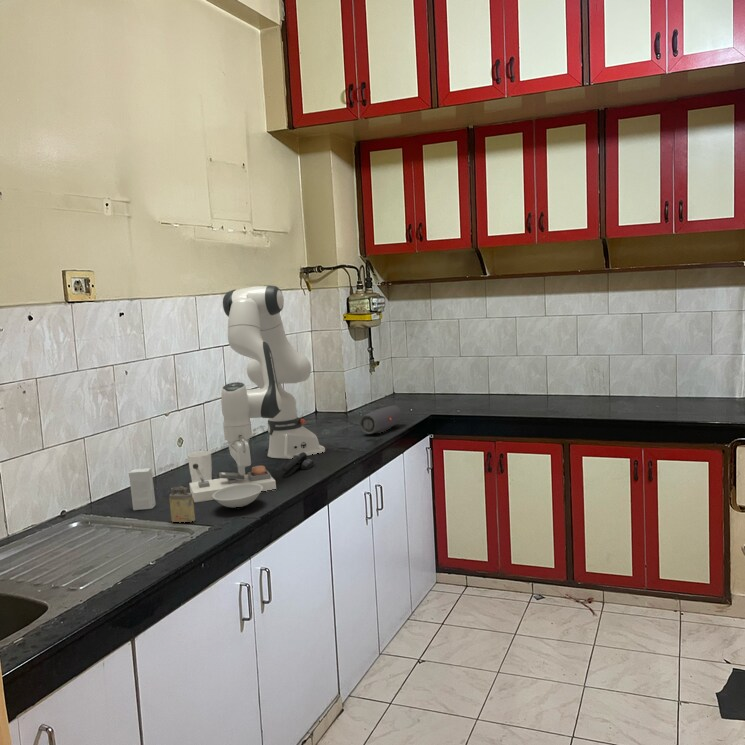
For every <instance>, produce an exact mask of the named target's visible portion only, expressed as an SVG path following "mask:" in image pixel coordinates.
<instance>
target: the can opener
mask: <svg viewBox="0 0 745 745" xmlns="http://www.w3.org/2000/svg"><path fill="white" fill-rule="evenodd" d="M307 457H308V456H307V455H306V453H304V452H302V453H300V454H299V455H295V456H293V459H289V461H288V462H287V463H285V465H284V466H283V467H282V468H281V470H282V471H283V473H282V474H281V476H282V478H287V477H286V476H288V477H290V476H291V475H292V474H293V473H295V472H297V470H298V469H301V470H309V469H311V468H312V467H311V466H313V465H314V460H312V459H310V458H307ZM310 467H311V468H310ZM308 468H309V469H308ZM289 475H290V476H289Z"/></svg>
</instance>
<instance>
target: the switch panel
mask: <svg viewBox="0 0 745 745" xmlns="http://www.w3.org/2000/svg"><path fill="white" fill-rule="evenodd" d="M265 471H266V474H263V475H256V476H253V475H252V471H249V472H247V474H245V475H244V476H245V477H244V479H227V478H220V477H219V478H214V479H212V480H206V481H204V482H202V481H199V482H192V481H191V482H189V491H190V492H189V493H192V497H193V503H201V502H207V501H213V500H215V499H213V498H212V495H213V494H214V493H215V492H216V491H218V490H220V489H222V488H225V487H229V486H233V485H238V484H249V483H250V484H259V485H262V486H263V490H262V491H266V492H268V491H267V490H272V489H276V490H277V484H276V483H277V482H276V479H275V478H274V477H273V476H272V475H271V473H270V472H269V470H268V469H265ZM272 491H273V490H272Z"/></svg>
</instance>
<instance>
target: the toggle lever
mask: <svg viewBox="0 0 745 745" xmlns="http://www.w3.org/2000/svg"><path fill="white" fill-rule="evenodd" d="M193 468H194V469H195V470H196V472H197V474H198V476H199V478H200V480H201V481H202V482H204V478H203V476H202V474H201V472H200V470H199V468H198V464H193Z"/></svg>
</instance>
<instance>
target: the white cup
mask: <svg viewBox="0 0 745 745" xmlns="http://www.w3.org/2000/svg"><path fill="white" fill-rule="evenodd" d="M187 460H188V468H189V474H190V477H191V483H192V482H199V481H201V480H200V478H199V476H198V474H197V472H196V470H195V469H194V468H193V464H198V468H199V470H200V472H201V474H202V476H203V478H204V481H206V480H213V479H212V478H213V477H212V473H213V472H212V470H213V467H212V466H213V465H212V452H211V451H210V450H209V451H207V450H200V451H194V452H190V453H188V454H187Z"/></svg>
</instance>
